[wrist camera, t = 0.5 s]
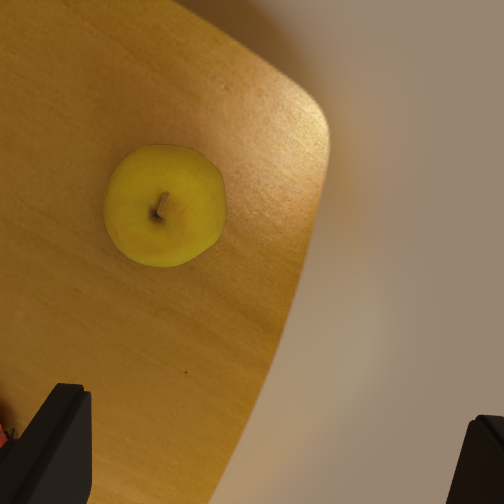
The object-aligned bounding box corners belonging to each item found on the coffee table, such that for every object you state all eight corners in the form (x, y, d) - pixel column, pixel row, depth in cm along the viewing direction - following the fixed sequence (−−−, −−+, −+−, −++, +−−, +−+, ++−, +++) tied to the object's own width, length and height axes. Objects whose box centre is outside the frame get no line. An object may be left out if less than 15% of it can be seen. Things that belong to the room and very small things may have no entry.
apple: (216, 127, 27) (204, 133, 19) (240, 229, 29) (238, 272, 21) (112, 151, 27) (60, 167, 20) (143, 251, 29) (106, 301, 21)
